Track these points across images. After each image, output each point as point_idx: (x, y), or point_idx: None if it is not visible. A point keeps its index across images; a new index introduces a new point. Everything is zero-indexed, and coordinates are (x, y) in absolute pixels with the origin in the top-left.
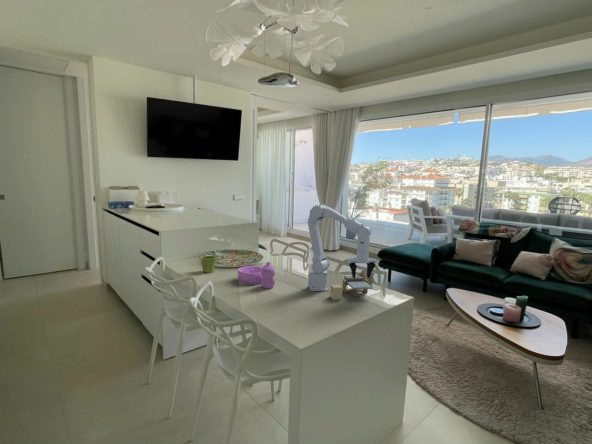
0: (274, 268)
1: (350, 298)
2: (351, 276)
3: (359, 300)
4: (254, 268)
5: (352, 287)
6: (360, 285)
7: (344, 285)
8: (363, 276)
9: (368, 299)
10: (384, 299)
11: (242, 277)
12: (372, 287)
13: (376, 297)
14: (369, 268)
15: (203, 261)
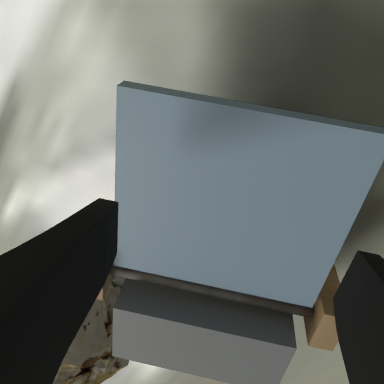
0: None
1: (351, 121)
2: (208, 369)
3: (302, 49)
4: None
5: (378, 161)
6: (237, 183)
7: (335, 281)
8: (73, 351)
9: (195, 52)
10: (39, 11)
11: None
12: (119, 85)
13: (94, 81)
14: (17, 348)
15: None
